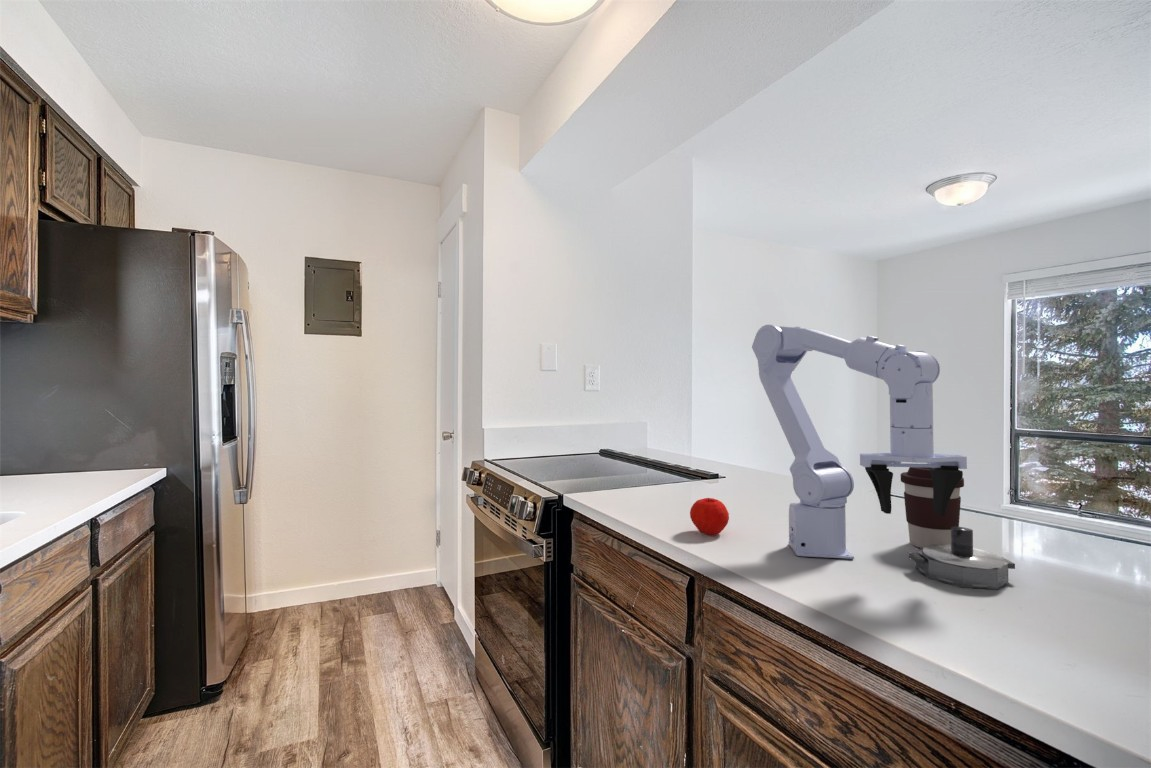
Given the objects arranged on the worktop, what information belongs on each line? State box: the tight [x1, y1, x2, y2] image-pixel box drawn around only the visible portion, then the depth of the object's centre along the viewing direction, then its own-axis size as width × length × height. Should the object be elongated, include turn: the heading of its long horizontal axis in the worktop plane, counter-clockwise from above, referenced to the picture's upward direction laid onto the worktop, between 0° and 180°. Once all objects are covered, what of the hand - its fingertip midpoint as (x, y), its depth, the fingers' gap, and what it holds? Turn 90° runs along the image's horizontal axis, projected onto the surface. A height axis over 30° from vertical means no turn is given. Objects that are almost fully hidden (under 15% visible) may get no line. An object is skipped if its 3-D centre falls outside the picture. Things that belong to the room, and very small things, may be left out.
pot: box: [908, 548, 1016, 590], centre depth 82 cm, size 14×11×3 cm
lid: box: [923, 526, 1005, 569], centre depth 82 cm, size 10×10×5 cm
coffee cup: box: [900, 467, 965, 549], centre depth 97 cm, size 10×10×15 cm
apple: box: [689, 497, 730, 536], centre depth 107 cm, size 8×8×7 cm
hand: (912, 513), depth 81 cm, fingers open, 7 cm apart
